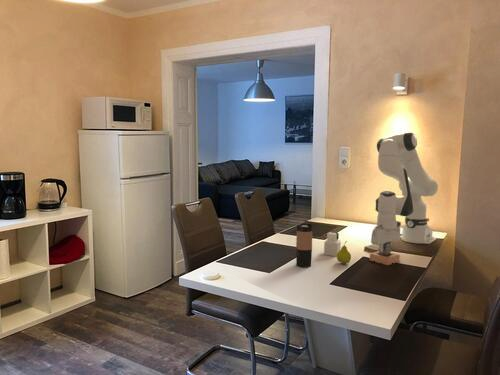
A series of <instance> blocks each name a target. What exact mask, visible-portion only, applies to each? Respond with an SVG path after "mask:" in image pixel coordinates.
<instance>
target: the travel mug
mask: <svg viewBox="0 0 500 375" xmlns="http://www.w3.org/2000/svg"><path fill="white" fill-rule="evenodd" d="M295 241H296V242H295V243H296V244H295V246H296V247H295V256H296V258H295V259H296V260H295V262H296V267H299V268H310V267H311V266H312V255H313V254H312V253H313V225H312V224H309V223H301V224H297V225H296V240H295Z"/></svg>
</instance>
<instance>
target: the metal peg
mask: <svg viewBox="0 0 500 375" xmlns="http://www.w3.org/2000/svg"><path fill="white" fill-rule="evenodd" d="M391 246H392V244H391V243H389V242H387V243H384V245H383V248H384V251H383V252H380V248H379V255H382V256H386V257H388V256H390V252H391V251H392V250H391V249H392V248H391ZM391 253H392V252H391Z"/></svg>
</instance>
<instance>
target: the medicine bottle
mask: <svg viewBox="0 0 500 375" xmlns="http://www.w3.org/2000/svg"><path fill="white" fill-rule="evenodd" d="M339 235H340V234H339V232H337V231H328V232H327V233H326V240H325V241H324V243H323V244H324V246H323V255H324V256H330V257H337V253H338V252H339V251H340V250H341V247H342V246H341V244H342V243H341V240H340V239H339Z"/></svg>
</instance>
